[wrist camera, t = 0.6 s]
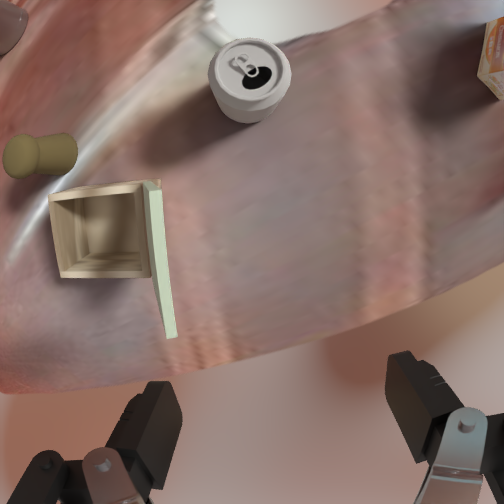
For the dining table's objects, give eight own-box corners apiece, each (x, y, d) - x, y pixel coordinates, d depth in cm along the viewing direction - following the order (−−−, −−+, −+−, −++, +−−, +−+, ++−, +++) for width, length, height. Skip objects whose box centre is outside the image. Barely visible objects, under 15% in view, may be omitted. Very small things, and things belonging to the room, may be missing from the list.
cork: (74, 127, 33) (27, 122, 23) (81, 169, 35) (33, 175, 25) (42, 140, 34) (-7, 141, 23) (48, 180, 35) (-1, 190, 25)
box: (88, 257, 39) (60, 277, 31) (79, 186, 36) (47, 194, 28) (166, 255, 39) (150, 277, 32) (160, 178, 36) (140, 183, 29)
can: (241, 136, 35) (240, 124, 24) (204, 90, 33) (188, 61, 22) (290, 102, 34) (311, 78, 23) (253, 57, 32) (259, 17, 21)
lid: (166, 338, 21) (177, 336, 21) (148, 191, 18) (161, 189, 18) (152, 280, 31) (159, 279, 32) (142, 181, 28) (150, 181, 29)
